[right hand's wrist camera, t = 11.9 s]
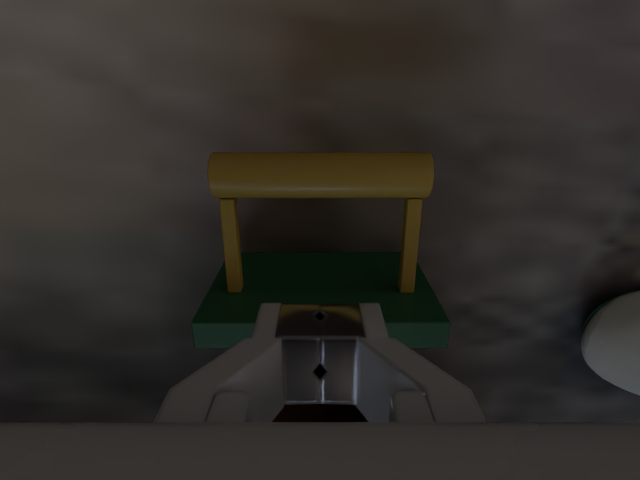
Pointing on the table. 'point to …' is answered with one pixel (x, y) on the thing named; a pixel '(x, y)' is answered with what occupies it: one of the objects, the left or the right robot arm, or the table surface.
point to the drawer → (321, 254)
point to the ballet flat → (614, 341)
